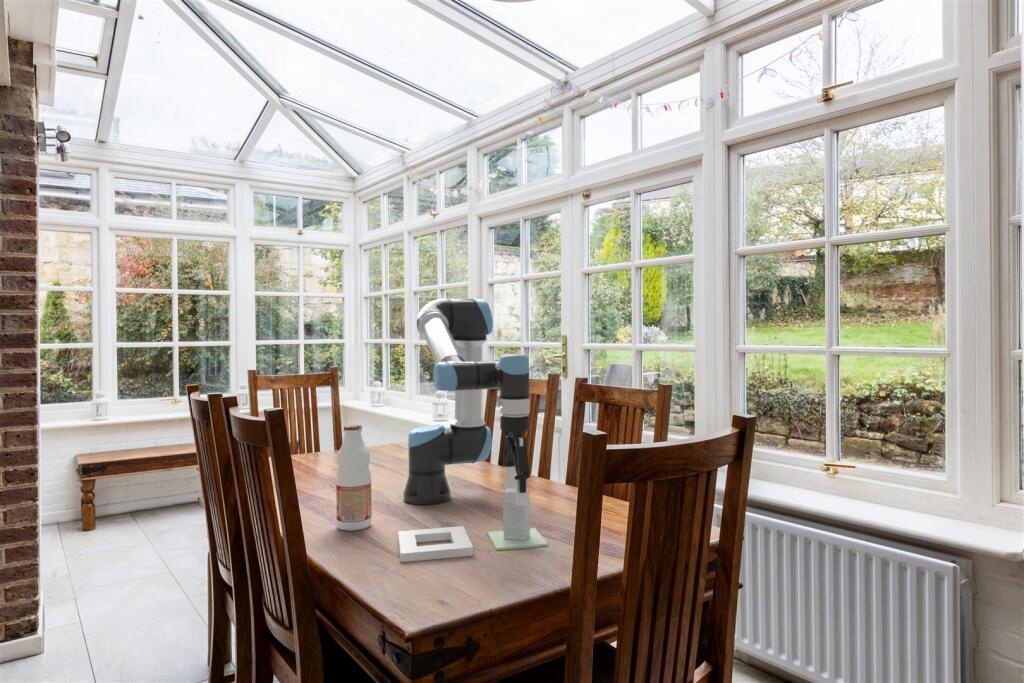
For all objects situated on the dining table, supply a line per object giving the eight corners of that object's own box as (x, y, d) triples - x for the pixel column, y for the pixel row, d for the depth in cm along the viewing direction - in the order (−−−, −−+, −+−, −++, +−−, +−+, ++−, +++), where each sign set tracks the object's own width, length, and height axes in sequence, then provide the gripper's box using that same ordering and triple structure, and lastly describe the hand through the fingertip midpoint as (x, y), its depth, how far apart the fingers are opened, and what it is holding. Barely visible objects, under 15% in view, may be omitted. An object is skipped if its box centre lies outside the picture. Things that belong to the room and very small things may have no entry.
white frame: (398, 539, 159) (398, 531, 159) (463, 533, 162) (463, 526, 162) (400, 562, 142) (400, 553, 142) (473, 555, 146) (473, 547, 146)
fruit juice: (352, 533, 164) (350, 428, 164) (329, 527, 169) (328, 426, 169) (378, 524, 171) (377, 424, 171) (356, 519, 177) (354, 422, 177)
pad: (487, 534, 162) (487, 531, 162) (535, 530, 164) (535, 527, 164) (496, 550, 149) (496, 548, 149) (548, 545, 152) (548, 543, 152)
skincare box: (530, 535, 158) (529, 489, 158) (525, 540, 154) (525, 493, 154) (507, 533, 160) (507, 487, 160) (502, 538, 156) (502, 491, 156)
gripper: (491, 409, 168) (492, 486, 168) (510, 422, 143) (511, 512, 144) (518, 408, 169) (519, 485, 170) (541, 421, 145) (542, 510, 145)
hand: (515, 497), depth 157 cm, fingers open, 13 cm apart
